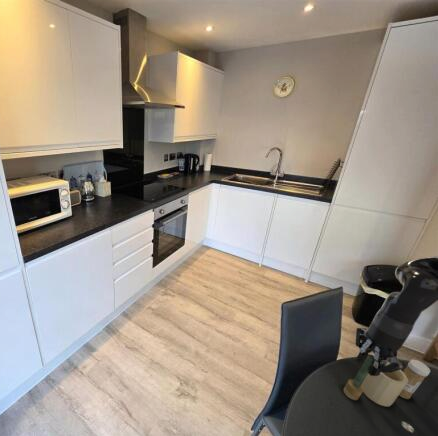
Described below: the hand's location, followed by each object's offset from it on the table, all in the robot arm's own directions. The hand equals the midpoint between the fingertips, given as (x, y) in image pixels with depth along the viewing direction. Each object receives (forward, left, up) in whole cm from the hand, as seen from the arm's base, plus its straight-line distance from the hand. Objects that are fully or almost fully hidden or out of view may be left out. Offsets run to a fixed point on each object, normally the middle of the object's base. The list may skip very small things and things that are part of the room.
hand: (366, 367), depth 76 cm
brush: (0, 0, -13) cm, 13 cm away
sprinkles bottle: (-16, -10, -13) cm, 22 cm away
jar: (-8, -5, -13) cm, 16 cm away
